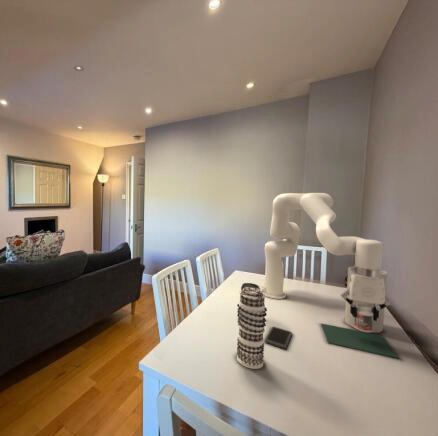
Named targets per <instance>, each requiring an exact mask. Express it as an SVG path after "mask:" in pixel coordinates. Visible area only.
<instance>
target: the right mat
mask: <svg viewBox="0 0 438 436" xmlns="http://www.w3.org/2000/svg"><path fill="white" fill-rule="evenodd" d="M320 324H321V327H322V330H323V332H324V335H325V338H326V341H327V343H328V344H331V345H335V346H338V347H343V348H349V349H353V350H357V351H361V352H366V353H371V354H376V355H379V356H384V357H389V358H393V359H397V360H399V359H400V357H399V356H398V354H397V353H396V352H395V350H394V349H393V348H392V347H391V346H390V344H389V343H388V342H387V340H385V338H384V337H383V336H382V335H381V334H377V333H371V332H363V331H360V330H358V329H351V328H346V327H340V326H336V325H330V324H325V323H320Z"/></svg>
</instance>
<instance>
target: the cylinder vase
mask: <svg viewBox="0 0 438 436" xmlns="http://www.w3.org/2000/svg"><path fill="white" fill-rule="evenodd" d="M350 267H354V265H351V266H348V267H347V281H346V290H348V287H349V282H350V278H351V275H352V273H354V271H350ZM381 277H383V279H384V285H385V296H386V297H387V283H388V272H387V271H386V270H383V269H381ZM347 297H348V298H349V299H350V300H351V298H350V296H349V295H347ZM358 303H365V304H368V305H370V306H372V308H374V305H373V303H366V302H359V301H358V302H357V304H356V308H358ZM350 306H351V305H350V304H349V303H348V302H347V301H346V300H345V312H344V322H345V323H346V324H347V325H348V326H350V327H352V328H354V329H356V328H355V327H354V318H355V317H353V315H352V314H351V313H350ZM385 308H386V307H385ZM385 308H383V309H381V311H379V318H377V321H374V320H373V327H372V332H370V333H372V334H377V333H381V332H383V330H384V321H385ZM371 311H372V309H371Z"/></svg>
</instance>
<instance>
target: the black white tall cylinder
mask: <svg viewBox="0 0 438 436" xmlns="http://www.w3.org/2000/svg"><path fill="white" fill-rule="evenodd" d="M238 292H239V294H240V296H239V303H237V305H236V306H237V311H236V312H237V327H238V336H237V339H236V340H237V344H236V345H237V346H236V360H237V362H238V363H239V364H240V365H241V366H243V367H246V368H248V369H252V370H254V369H255V370H256V369H257V370H258V369H261V368H263V366H264V361H265V360H264V357H265V353H264V352H265V342H264V333H265V330H266V329H265V327H266V322H267V320H266V316H267V315H268V313H267V311H268V308H267V307H266V305H265V300H266V299H265V298H266V296H265V294H263V293H262V290H259V289H257V288H254V287H245V288H244V289H242V290H241V289H240V291H238Z"/></svg>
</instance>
